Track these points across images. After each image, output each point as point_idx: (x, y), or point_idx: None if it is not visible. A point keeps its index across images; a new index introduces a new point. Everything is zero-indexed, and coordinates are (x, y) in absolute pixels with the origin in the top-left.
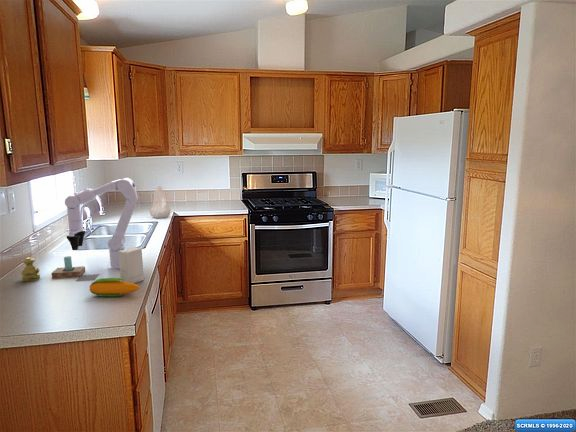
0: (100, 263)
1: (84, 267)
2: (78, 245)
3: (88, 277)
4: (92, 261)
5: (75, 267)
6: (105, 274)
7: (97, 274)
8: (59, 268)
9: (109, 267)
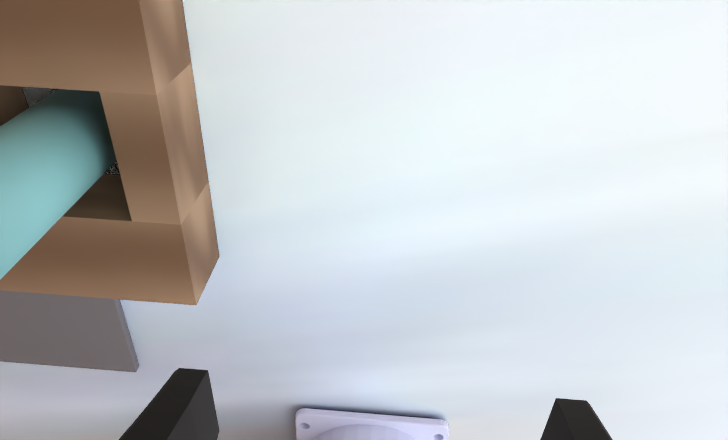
0: (539, 338)
1: (176, 298)
2: (554, 427)
3: (25, 310)
4: (682, 260)
5: (147, 219)
6: (150, 396)
7: (119, 360)
8: (92, 3)
9: (315, 420)
